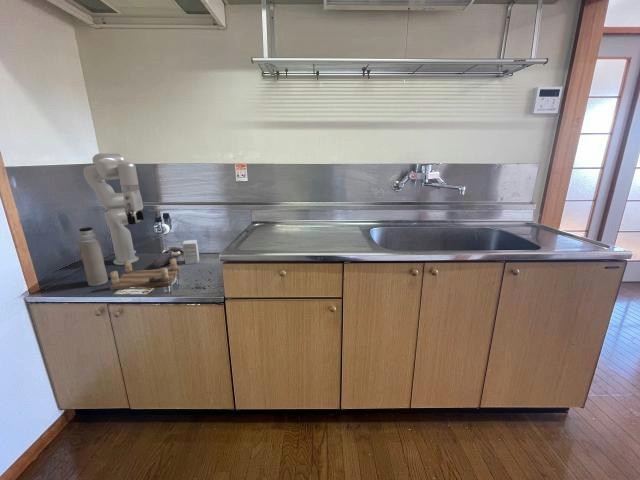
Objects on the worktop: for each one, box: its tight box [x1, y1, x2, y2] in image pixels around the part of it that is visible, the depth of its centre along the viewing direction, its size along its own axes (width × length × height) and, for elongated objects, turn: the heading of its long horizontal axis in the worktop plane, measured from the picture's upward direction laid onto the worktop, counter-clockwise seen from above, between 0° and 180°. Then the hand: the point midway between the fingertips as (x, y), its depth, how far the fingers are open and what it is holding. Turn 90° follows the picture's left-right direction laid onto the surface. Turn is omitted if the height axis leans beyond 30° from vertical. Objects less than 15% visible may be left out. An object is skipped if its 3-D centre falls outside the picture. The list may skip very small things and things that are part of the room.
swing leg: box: [149, 267, 169, 282], centre depth 138 cm, size 9×3×6 cm, turn 100°
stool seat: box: [109, 258, 181, 291], centre depth 144 cm, size 18×26×8 cm
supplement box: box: [182, 239, 200, 265], centre depth 168 cm, size 7×7×13 cm
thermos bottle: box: [77, 226, 109, 287], centre depth 138 cm, size 8×8×28 cm
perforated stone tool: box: [153, 249, 174, 268], centre depth 165 cm, size 15×5×7 cm, turn 171°
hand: (136, 221), depth 146 cm, fingers open, 9 cm apart
